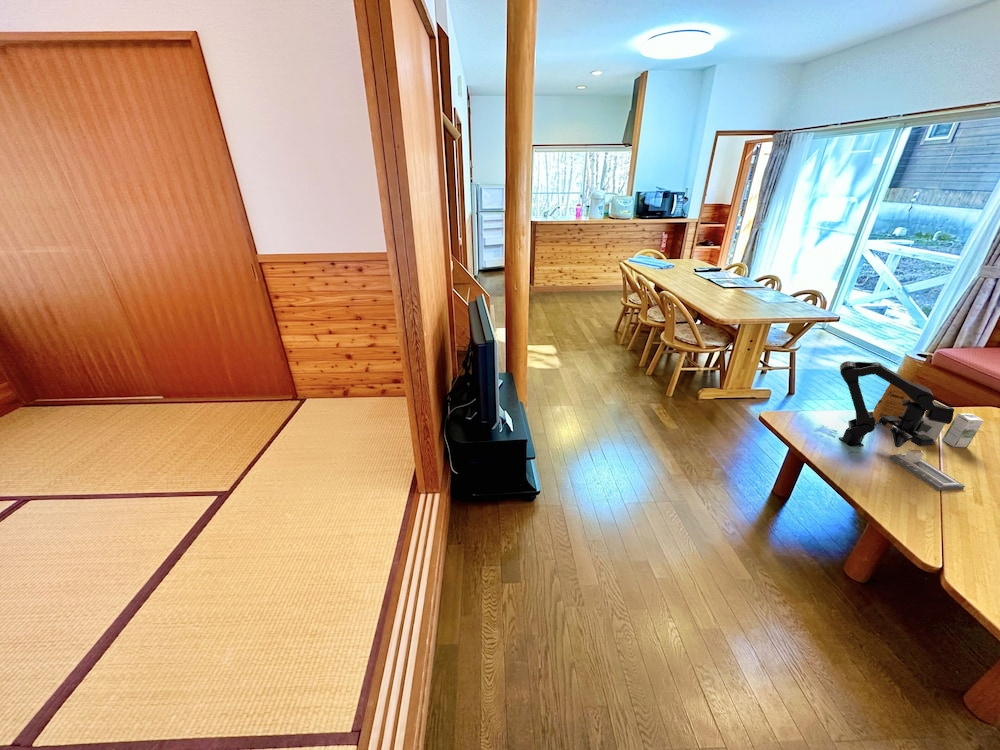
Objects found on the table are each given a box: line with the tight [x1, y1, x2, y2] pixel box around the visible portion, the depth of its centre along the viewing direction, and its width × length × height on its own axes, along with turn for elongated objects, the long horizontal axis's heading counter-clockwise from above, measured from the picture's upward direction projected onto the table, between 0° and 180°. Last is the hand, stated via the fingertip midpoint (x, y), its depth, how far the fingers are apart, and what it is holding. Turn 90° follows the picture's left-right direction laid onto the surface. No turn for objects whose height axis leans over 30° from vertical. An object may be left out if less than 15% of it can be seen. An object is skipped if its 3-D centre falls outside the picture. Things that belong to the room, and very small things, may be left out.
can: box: [916, 414, 946, 442], centre depth 178 cm, size 8×8×12 cm
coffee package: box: [872, 383, 914, 428], centre depth 188 cm, size 10×12×22 cm
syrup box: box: [942, 412, 985, 448], centre depth 173 cm, size 6×6×14 cm
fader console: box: [888, 452, 966, 491], centre depth 159 cm, size 10×20×2 cm, turn 2°
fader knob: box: [904, 448, 924, 463], centre depth 164 cm, size 4×3×5 cm
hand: (897, 447), depth 170 cm, fingers closed
